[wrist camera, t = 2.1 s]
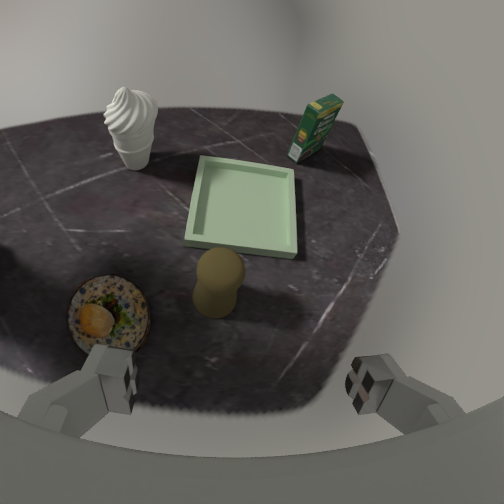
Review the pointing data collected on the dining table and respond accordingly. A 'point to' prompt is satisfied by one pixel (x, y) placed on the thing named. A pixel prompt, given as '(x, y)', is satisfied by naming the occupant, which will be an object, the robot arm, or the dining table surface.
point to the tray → (243, 208)
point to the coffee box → (314, 127)
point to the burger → (109, 314)
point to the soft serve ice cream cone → (132, 126)
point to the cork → (218, 282)
